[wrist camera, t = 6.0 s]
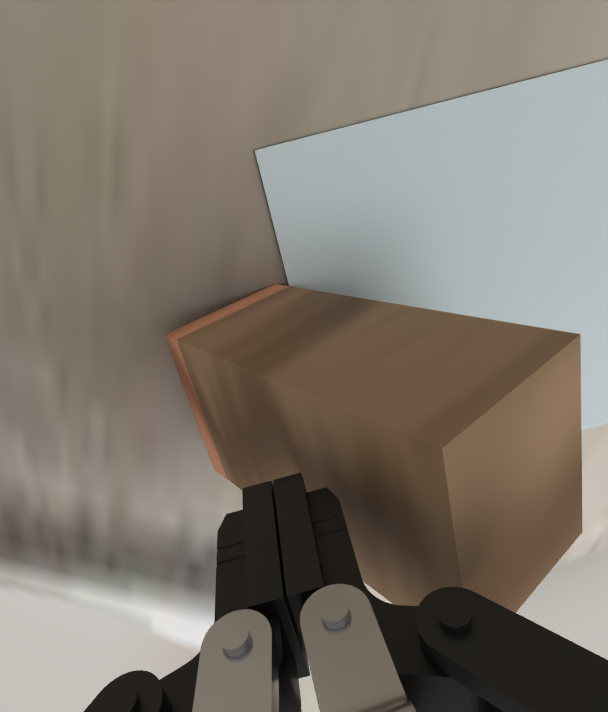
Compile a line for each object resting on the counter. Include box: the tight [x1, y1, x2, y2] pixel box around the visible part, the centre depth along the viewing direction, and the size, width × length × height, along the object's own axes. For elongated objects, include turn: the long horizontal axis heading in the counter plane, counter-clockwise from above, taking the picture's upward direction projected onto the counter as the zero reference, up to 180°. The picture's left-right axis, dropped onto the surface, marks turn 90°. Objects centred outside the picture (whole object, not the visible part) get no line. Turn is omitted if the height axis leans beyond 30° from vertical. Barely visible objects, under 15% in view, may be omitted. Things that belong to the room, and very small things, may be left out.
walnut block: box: [165, 284, 582, 613], centre depth 16 cm, size 6×5×12 cm
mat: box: [254, 59, 608, 431], centre depth 22 cm, size 16×14×1 cm
